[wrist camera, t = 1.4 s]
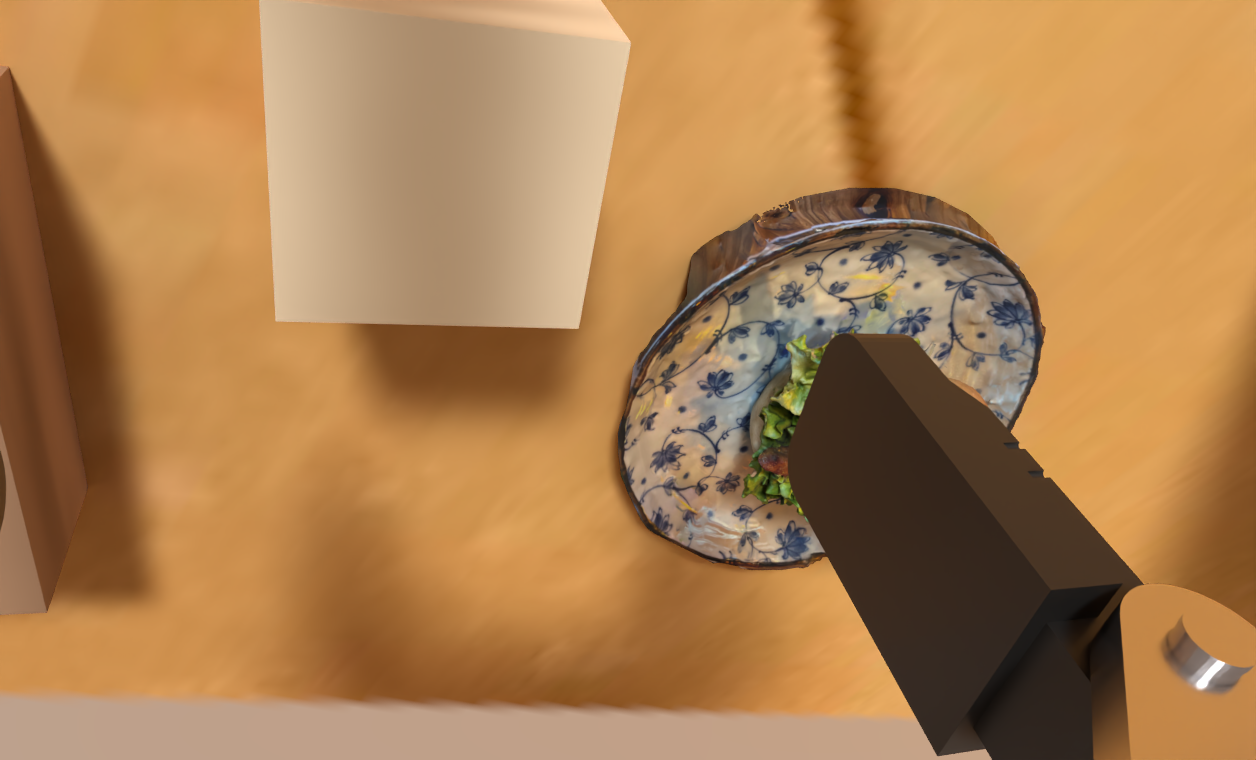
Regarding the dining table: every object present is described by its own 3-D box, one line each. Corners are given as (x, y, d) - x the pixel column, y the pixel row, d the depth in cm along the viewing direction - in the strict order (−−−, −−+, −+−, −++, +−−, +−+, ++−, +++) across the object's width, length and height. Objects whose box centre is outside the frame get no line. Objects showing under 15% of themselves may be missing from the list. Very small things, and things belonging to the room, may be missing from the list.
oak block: (554, -65, 16) (631, 42, 12) (524, 167, 19) (578, 328, 14) (289, -106, 15) (258, -3, 10) (296, 149, 18) (275, 321, 13)
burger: (604, 204, 20) (702, 419, 14) (1068, 161, 22) (1309, 333, 17) (603, 558, 28) (667, 791, 22) (951, 499, 30) (1091, 697, 24)
